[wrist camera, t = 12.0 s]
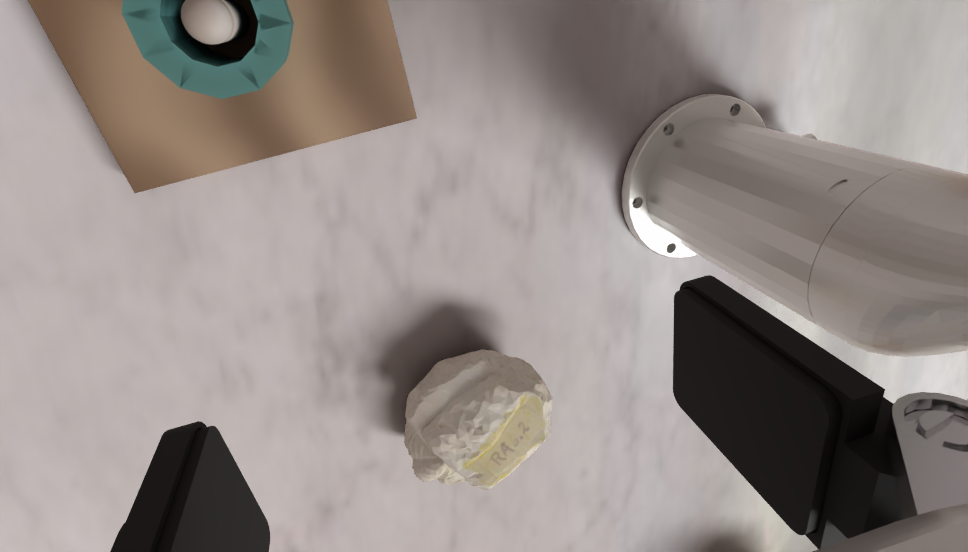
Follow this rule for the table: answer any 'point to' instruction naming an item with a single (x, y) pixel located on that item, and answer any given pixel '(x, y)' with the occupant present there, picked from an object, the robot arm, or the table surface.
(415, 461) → the fossil replica
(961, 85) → the table surface
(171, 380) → the table surface
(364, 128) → the spindle stand
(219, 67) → the bead
